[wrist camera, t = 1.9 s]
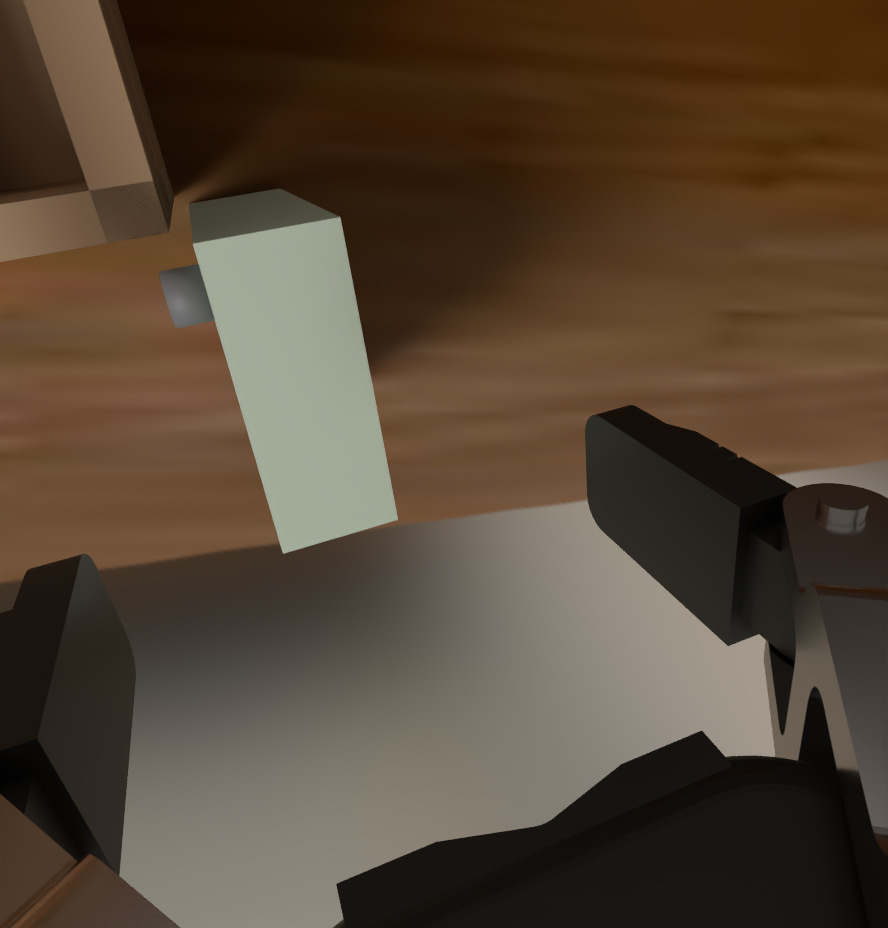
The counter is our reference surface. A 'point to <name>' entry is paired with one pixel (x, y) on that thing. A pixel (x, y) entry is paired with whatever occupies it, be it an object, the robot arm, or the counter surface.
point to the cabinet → (74, 132)
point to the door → (291, 358)
